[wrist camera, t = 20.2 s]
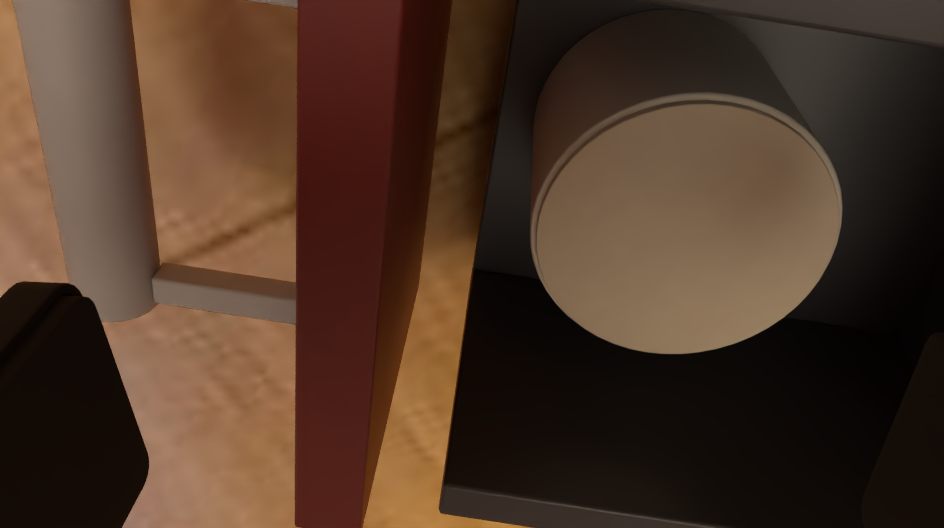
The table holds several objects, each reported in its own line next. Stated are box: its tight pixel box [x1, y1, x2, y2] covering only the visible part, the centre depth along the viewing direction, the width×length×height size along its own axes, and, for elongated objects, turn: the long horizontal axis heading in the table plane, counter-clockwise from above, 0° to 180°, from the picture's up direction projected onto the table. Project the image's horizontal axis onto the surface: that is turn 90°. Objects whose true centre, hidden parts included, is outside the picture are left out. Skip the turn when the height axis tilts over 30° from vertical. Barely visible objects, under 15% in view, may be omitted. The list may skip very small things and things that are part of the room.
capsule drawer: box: [13, 0, 944, 528], centre depth 14 cm, size 18×11×8 cm, turn 83°
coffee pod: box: [530, 9, 843, 354], centre depth 15 cm, size 5×5×4 cm
